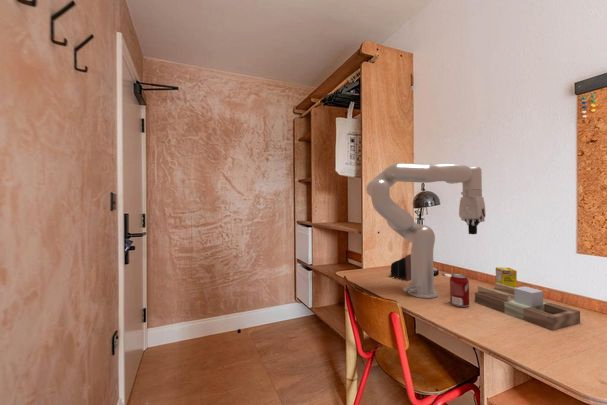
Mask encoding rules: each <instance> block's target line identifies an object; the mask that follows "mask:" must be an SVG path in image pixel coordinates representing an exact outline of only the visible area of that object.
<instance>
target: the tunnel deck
mask: <svg viewBox="0 0 607 405" xmlns="http://www.w3.org/2000/svg"><path fill="white" fill-rule="evenodd" d="M493 286H494V288H491V287H487V286H483V285H477V291H475V292H474V302H475V303H477V304H479V305H482V306H485V307H487V308H490V309H493V310H496V311H498V312H502V313H504V314H506V315H509V316H513V317H515V318H517V319H520V320H524V321H525V322H528V323H531V324H534V325H536V326H540V327H542V328H546V329H547V330H551V331H555V330H558V329H562V328H563V329H564V328H566V327H570V326H573V325H577V324H580V323H581V311H580V310H579V309H578V310H577V309H574V308H570V307H567V306H565V305H560V304H556V303H555V302H554V303H553V302H549V301H545V300H543V305H540V306H535V307H531V306H527V305H524V304H521V303H518V302H515V301H514V287H511V286H507V285H503V284H500V283H496V282H495V283H494V284H493Z"/></svg>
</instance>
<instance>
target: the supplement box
mask: <svg viewBox="0 0 607 405" xmlns="http://www.w3.org/2000/svg"><path fill="white" fill-rule="evenodd" d="M517 273H518V272H517V270H516V269H513V268H511V267H500V266H499V267H498V266H497V267H495V283H500V284H503V285H507V286H511V287H514V288H518V284H517V282H518V281H517V280H518V279H517Z"/></svg>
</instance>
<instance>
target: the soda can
mask: <svg viewBox="0 0 607 405" xmlns="http://www.w3.org/2000/svg"><path fill="white" fill-rule="evenodd" d="M449 303H450V304H451V305H453V306H455V307H458V308H466V307H468V306H470V281H469V278H468V276H467V275H466V274H463V273H452V274H451V276H450V278H449Z"/></svg>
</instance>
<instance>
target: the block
mask: <svg viewBox="0 0 607 405" xmlns="http://www.w3.org/2000/svg"><path fill="white" fill-rule="evenodd" d="M514 301H515V302H518V303H521V304H524V305H527V306H531V307H535V306H540V305H543V301H544V290H540V289H538V288H537V289H536V288H533V287H531V286H530V287H529V286H526V285H525V286H519V287H518V286H517V288H514Z"/></svg>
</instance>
